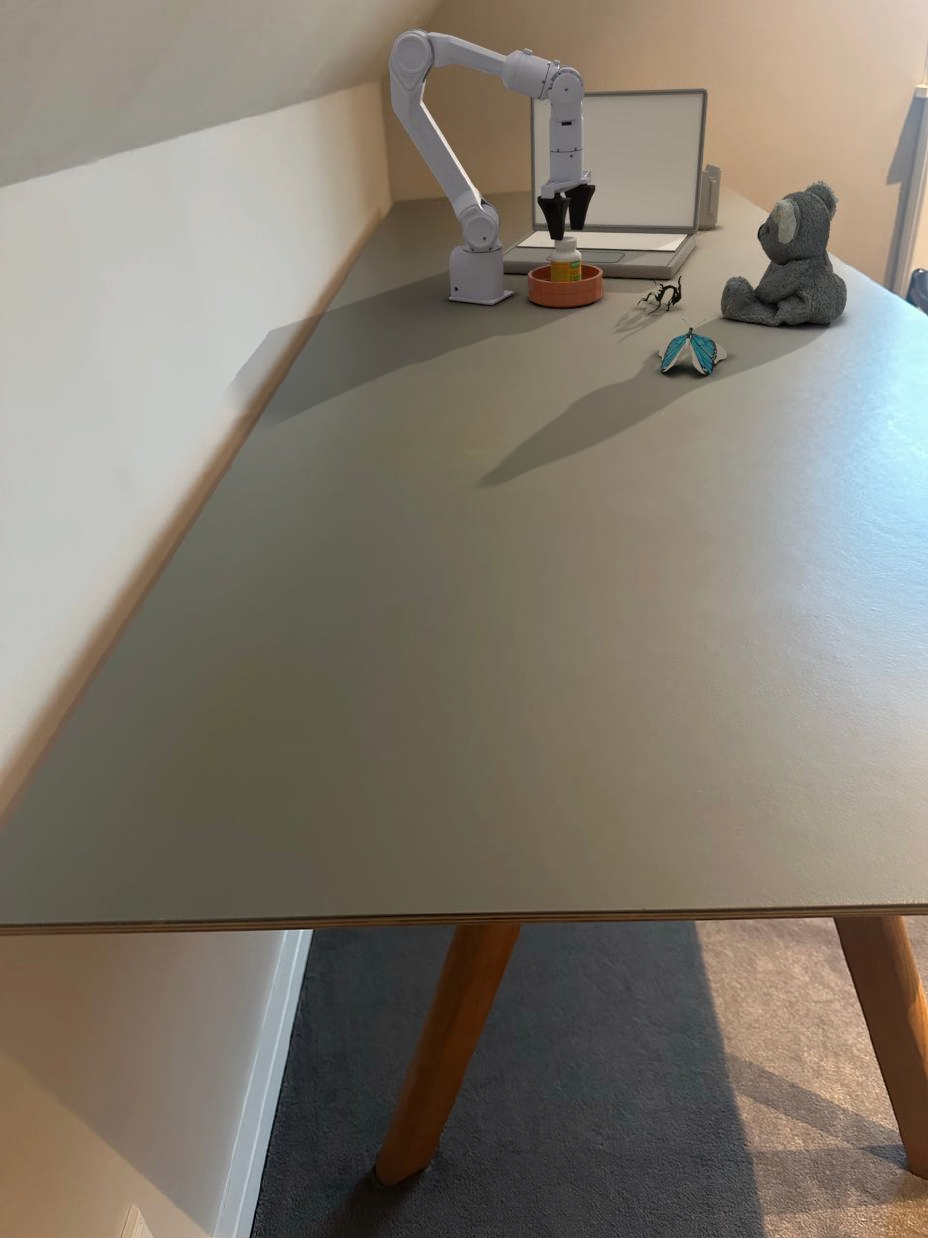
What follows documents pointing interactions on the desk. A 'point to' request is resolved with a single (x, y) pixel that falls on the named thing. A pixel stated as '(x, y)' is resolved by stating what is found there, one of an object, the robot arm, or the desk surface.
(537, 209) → the laptop
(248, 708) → the desk surface
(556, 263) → the supplement bottle
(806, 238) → the koala plush
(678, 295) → the creature
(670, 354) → the decorative butterfly
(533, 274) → the bowl
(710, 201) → the cable organizer
